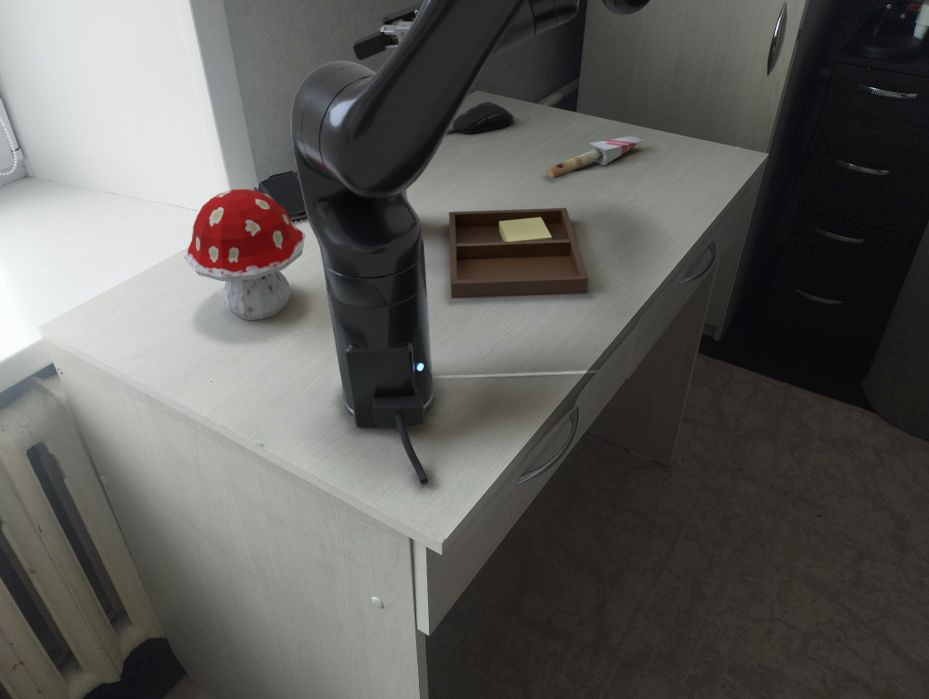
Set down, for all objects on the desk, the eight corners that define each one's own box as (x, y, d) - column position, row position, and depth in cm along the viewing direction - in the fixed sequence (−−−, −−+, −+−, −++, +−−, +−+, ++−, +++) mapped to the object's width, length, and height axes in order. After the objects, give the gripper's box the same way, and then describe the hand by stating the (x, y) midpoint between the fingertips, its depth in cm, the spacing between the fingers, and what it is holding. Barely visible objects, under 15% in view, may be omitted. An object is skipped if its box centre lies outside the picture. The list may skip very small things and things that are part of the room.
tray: (586, 296, 93) (587, 278, 91) (451, 300, 92) (450, 283, 91) (565, 223, 108) (566, 207, 106) (449, 227, 108) (449, 211, 106)
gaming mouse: (432, 129, 138) (431, 108, 136) (502, 114, 144) (502, 93, 141) (448, 140, 134) (447, 118, 132) (519, 124, 139) (519, 103, 137)
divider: (569, 255, 100) (570, 242, 98) (456, 259, 99) (456, 246, 98) (568, 252, 100) (569, 239, 99) (456, 256, 100) (456, 243, 99)
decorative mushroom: (305, 267, 100) (286, 160, 91) (327, 323, 89) (308, 208, 80) (197, 289, 96) (165, 180, 87) (206, 350, 86) (172, 233, 76)
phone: (298, 169, 122) (328, 205, 112) (299, 175, 123) (329, 212, 112) (250, 179, 120) (276, 217, 109) (252, 186, 120) (277, 224, 110)
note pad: (551, 246, 101) (552, 237, 101) (508, 251, 101) (508, 241, 100) (540, 226, 106) (541, 216, 105) (499, 230, 106) (499, 221, 105)
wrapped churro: (647, 133, 126) (557, 169, 117) (645, 148, 128) (557, 185, 119) (630, 126, 129) (541, 161, 120) (629, 141, 130) (541, 177, 122)
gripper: (464, -40, 89) (338, 13, 90) (500, 24, 81) (361, 81, 82) (479, 16, 96) (361, 64, 96) (513, 80, 87) (384, 133, 88)
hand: (361, 72), depth 89 cm, fingers open, 8 cm apart
